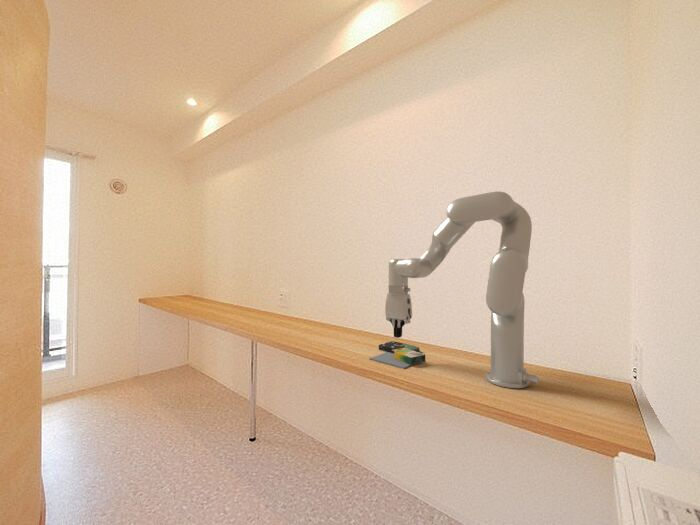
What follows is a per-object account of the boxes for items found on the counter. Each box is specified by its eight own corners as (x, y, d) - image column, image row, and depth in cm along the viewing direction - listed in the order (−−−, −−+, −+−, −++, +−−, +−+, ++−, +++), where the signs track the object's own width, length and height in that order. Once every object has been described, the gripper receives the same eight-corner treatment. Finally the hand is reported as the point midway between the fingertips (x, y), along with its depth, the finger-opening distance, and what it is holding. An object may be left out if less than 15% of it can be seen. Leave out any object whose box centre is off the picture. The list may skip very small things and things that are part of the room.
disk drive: (378, 351, 135) (406, 358, 125) (378, 344, 135) (406, 351, 125) (392, 346, 143) (420, 352, 132) (392, 340, 143) (420, 346, 132)
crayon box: (425, 362, 116) (404, 354, 126) (425, 354, 116) (404, 347, 126) (411, 365, 112) (391, 357, 122) (411, 357, 112) (391, 349, 122)
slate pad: (421, 361, 119) (421, 360, 119) (404, 368, 110) (404, 367, 110) (387, 353, 130) (387, 352, 130) (369, 359, 121) (369, 358, 121)
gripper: (419, 290, 118) (419, 338, 118) (388, 288, 128) (387, 332, 128) (409, 292, 113) (409, 342, 112) (377, 289, 123) (376, 335, 123)
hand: (397, 336), depth 120 cm, fingers closed
